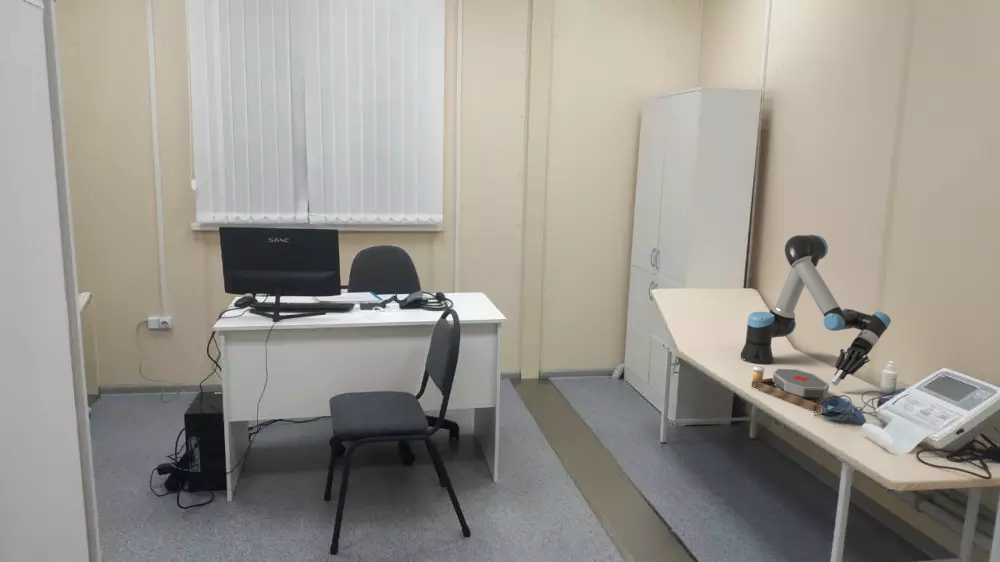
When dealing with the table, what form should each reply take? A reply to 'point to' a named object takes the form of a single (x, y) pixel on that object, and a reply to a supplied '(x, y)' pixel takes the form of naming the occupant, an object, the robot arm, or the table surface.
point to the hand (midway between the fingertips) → (834, 383)
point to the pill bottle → (758, 373)
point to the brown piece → (784, 395)
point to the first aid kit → (801, 383)
